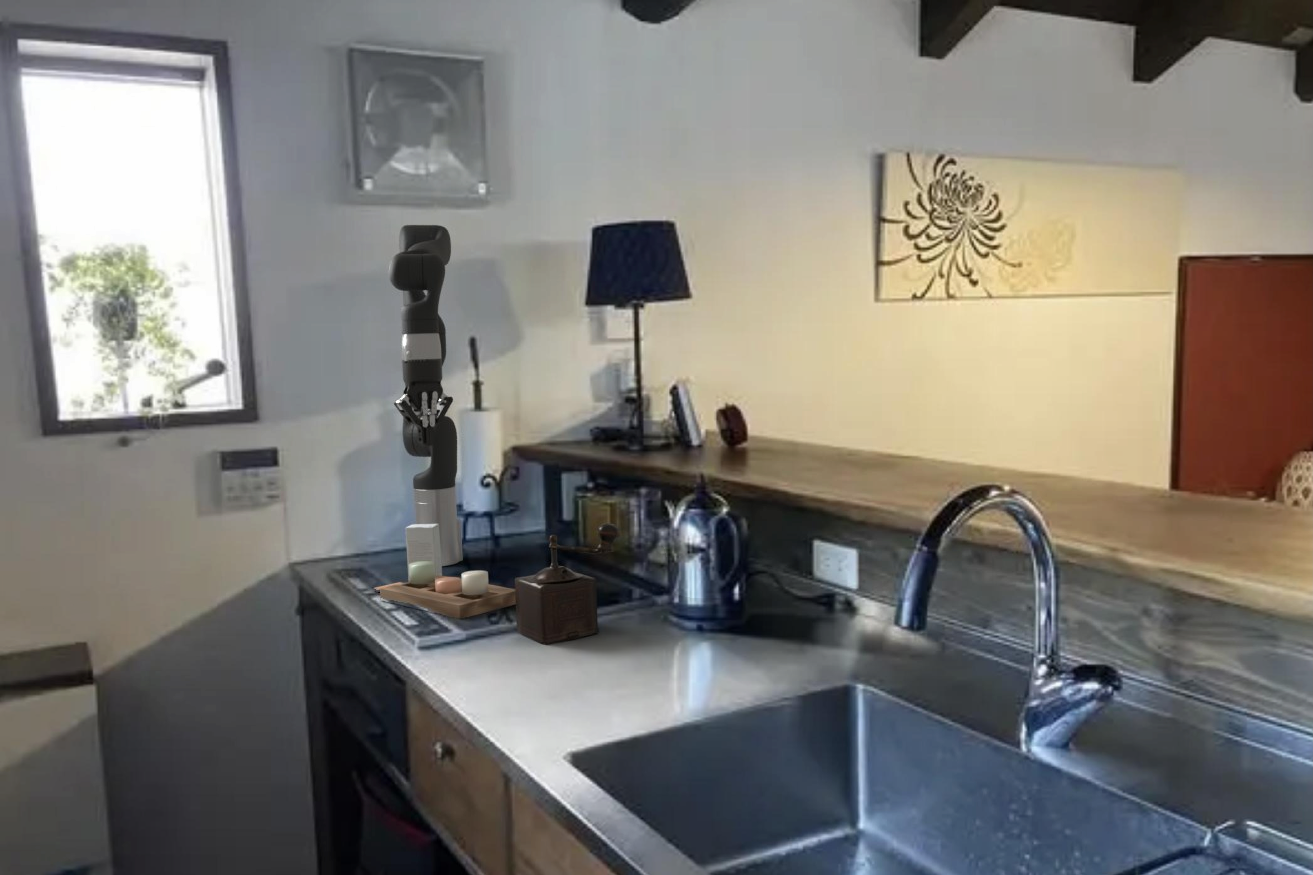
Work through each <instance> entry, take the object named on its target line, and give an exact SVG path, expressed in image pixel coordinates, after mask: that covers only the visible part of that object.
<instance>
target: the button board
mask: <svg viewBox="0 0 1313 875" xmlns="http://www.w3.org/2000/svg"><path fill="white" fill-rule="evenodd" d="M444 577H448V576H446V575H443V574H442V575H437V576H435V580H436V579H439V578H444ZM401 583H402V584H397V585H393V586H389V587H384V588H380V593H379V594H380V595H379V597H380V599H381V598H383V599H387V600H394V601H398V602H404V603H410V604H413V605H418V606H420V607H424V608H427V609H429V610H432V611H433V612H437V613H441V614H443V615H448V616H450V617H449V618H452V617H456V618H463V619H466V618H465V617H467V618H470V616H471V617H474V616H477V615H480V614H481V615H482V614H485V613H489V612H492V611H495V610H499V609H500V610H501V609H503V608H507V607H511V606H513V605H515V606H516V599H515V588H509V587H504V586H499V585H493V584H489V583H488V586H489V592H487V593H485V594H480V595H465V594H463V593H462V578H461V591H458V592H454V593H449V594H441V593H436V589H435V581H434V582H432V583H428V584H411V583H410V582H409V581H408V582H401ZM443 615H442V616H443ZM473 615H474V616H473ZM456 618H455V619H456Z"/></svg>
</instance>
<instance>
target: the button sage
mask: <svg viewBox="0 0 1313 875" xmlns="http://www.w3.org/2000/svg"><path fill="white" fill-rule="evenodd" d="M409 575H410V583H411V584H428V583H432V582H434V581H435V567H434V562H431V561H420V562H414V563H410V564H409Z"/></svg>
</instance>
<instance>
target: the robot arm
mask: <svg viewBox="0 0 1313 875" xmlns="http://www.w3.org/2000/svg"><path fill="white" fill-rule="evenodd" d="M398 238H399V239H398V240H399V241H398V243H399V244H398V246H399V248H398V249H399V252H398V253H396V254H395V255H394V256H393V257H392V259H391V261H390V263H389V266H388V278H389V281H390V283H391V285H392V286H393V287H394V288H395V289H397V290H399V291H402V297H403V298H402V300H403V301H402V302H403V303H402V304H403V305H402V307H401V309H400V320H401V334H402V335H401V364H402V381H403V383H404V388H403V395H402V396H400V398H399V399H396V400H394V402H393V405H394V406H395V408H396V409H397V411H399V413H400V414H401V416H402V417H403V418H402V442H403V445H404V448H405V451H406V452H407V453H408V455H409V456H412V457H418V458H421V457H423V458H430V464H429V466H428V468H427V469H426V470H423V471H421V472H420V473H417V474H415V475H413V478H412V485H413V486H412V487H413V502H414V521H415V523H414V524H439V533H440V549H441V565H442V567H446V566H451V565H455V564H457V563H459V562H462V561H463V542H462V540H463V539H462V538H463V536H462V521H461V519H460V518H458V511H457V494H456V493H457V492H456V491H457V490H456V479H457V473H458V432H457V427H456V425H455V422H454V421H453V419H452V418H451V417H449V416H447V415H446V414H447V413H448V411H449V409H450V408H451V406H452V403H453V402H454V398H453V397H452V396H448V395H447V394H445V393H444V388H443V386H442V383H441V382H442V381H443V365H444V363H445V360H446V356H447V332H446V326H445V323H444V321H443V319H442V317H441V316H440V314H439V307H440V306H439V303H440V297H441V293H442V288H443V285H444V281H445V277H446V266H447V265H448V264H449V262H450V261H451V260H450V259H451V255H452V241H451V236H450V233H449V230H448V229H447V228H446V227H445V226H443V225H439V224H406V225H403V226H402V227H401V228H400V231H399V236H398ZM425 291H426V293H425Z"/></svg>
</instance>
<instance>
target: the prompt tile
mask: <svg viewBox="0 0 1313 875" xmlns="http://www.w3.org/2000/svg"><path fill="white" fill-rule="evenodd" d="M402 583H403V582H401V581H399V582H395V583H390V584H386V585H380V586H376V587H374V588H373V590H374V589H376V590H380V588H384V587H389V586H393V585H397V584H402Z"/></svg>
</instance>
